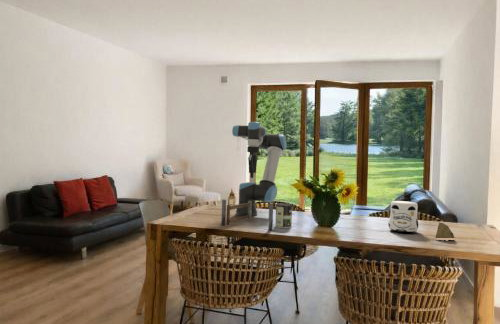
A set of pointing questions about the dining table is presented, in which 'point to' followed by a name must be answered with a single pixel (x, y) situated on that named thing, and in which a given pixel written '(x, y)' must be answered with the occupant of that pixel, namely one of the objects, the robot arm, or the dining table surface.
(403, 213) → the milk container
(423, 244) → the dining table surface
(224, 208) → the gate posts
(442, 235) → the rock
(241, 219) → the gate leaf
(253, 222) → the dining table surface
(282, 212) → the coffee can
